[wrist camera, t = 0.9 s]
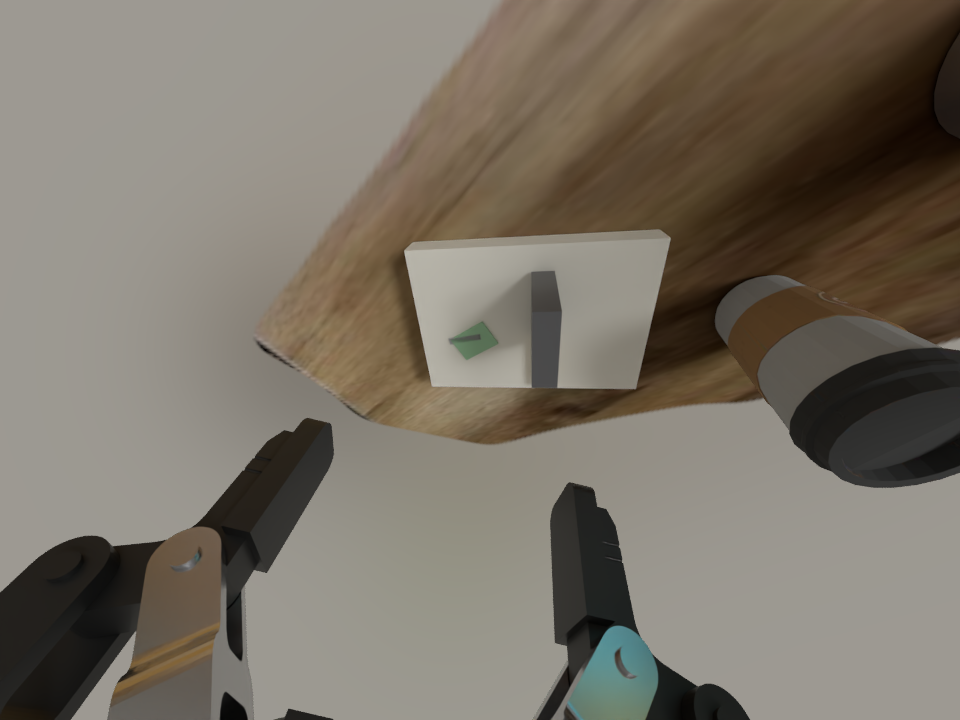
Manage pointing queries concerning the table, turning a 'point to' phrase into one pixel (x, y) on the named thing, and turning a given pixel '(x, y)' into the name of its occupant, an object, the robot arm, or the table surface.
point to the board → (507, 306)
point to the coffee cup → (847, 382)
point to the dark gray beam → (545, 329)
